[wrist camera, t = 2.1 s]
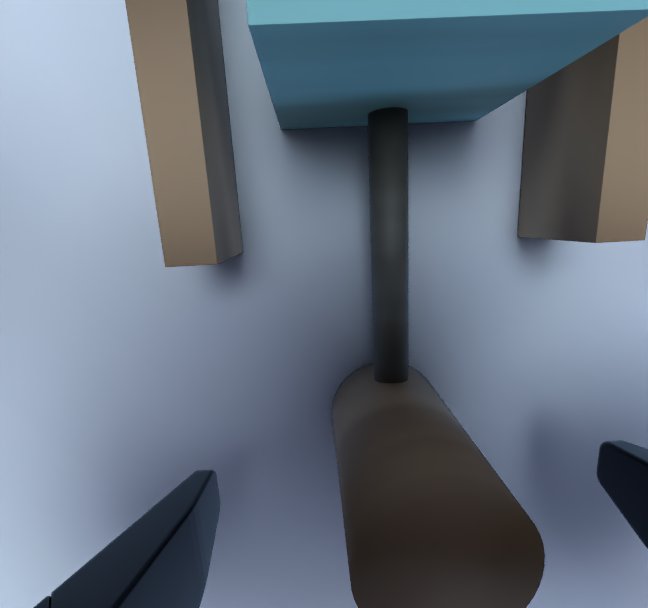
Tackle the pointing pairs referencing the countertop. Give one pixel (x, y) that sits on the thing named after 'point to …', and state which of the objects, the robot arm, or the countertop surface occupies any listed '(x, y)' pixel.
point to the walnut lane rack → (538, 155)
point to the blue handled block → (392, 271)
